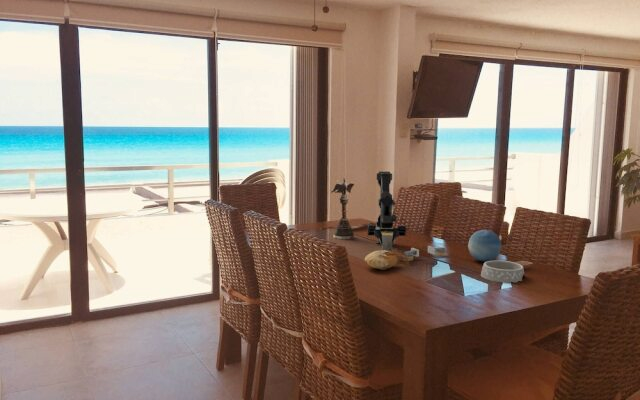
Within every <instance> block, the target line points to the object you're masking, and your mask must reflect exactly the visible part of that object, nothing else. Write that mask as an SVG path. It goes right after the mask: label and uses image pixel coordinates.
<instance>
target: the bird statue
mask: <svg viewBox="0 0 640 400" xmlns="http://www.w3.org/2000/svg"><path fill="white" fill-rule="evenodd" d="M354 186H355V182H350V183H348V182H347V178H346V177H343V183H340V182H339V180H338V179H337V180H336V184H335V185H334V188H333V189H331V190H330V194H332V193H335V194H337V193H338V194H341V196H340V198H339V202H340V204H341V211H340V212H341V215H342V216H341V218H340V219H339V220H340V221H339V222H338V225H337V226H336V228H335V232H334V234H333V238H334V239H335V238H337V239H336V240H351V239H354V238H355V234H354V232H353V229H352V227H351V225H350V222H349V218H347V204H348V203H349V197H348V195H347V192H348V193H349V194H351V191H352V188H353V187H354Z"/></svg>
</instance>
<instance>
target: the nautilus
mask: <svg viewBox="0 0 640 400" xmlns="http://www.w3.org/2000/svg"><path fill="white" fill-rule="evenodd" d="M403 255H404V253H399V252H397V254H395V252H394V251H392V252H391V251H386V250H382V249H381V250H376V251H375V250H374V251H372V252H370V253H368V254H367V255H366V256H365V258H364V261H365V263H366V264H367V265H369V266H370V267H371V268H373V269H378V270H380V271H384V270H387V269H389V268H392V267H401V268H402V266H404V263H407V265H408V264H409V262H408V261H406V260H403ZM399 257H402V258H399ZM404 257H405V256H404ZM406 257H407V256H406Z"/></svg>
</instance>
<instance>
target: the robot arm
mask: <svg viewBox="0 0 640 400" xmlns="http://www.w3.org/2000/svg"><path fill="white" fill-rule="evenodd" d="M375 178H376V181H377V185H378V186H379V189H380V191H379V193H380V195H379V199H378V202H377V203H378V205H377V206H378V207H379V210H380V212H379V213H380V214H379V215H378V217H377V221H375V224H368V225H367V236H374V237H375V238H377V240H378V241H376V242H375V244H377V245H381V246H382V231H392V232H393V235H392V247H393V246H394V244H395V241H396V239H397V238H399V237H405V236H406V235H407V226H406V225H404V224H403V225H402V224H400V225H399V224H397V225H398V226H397V227H394V223H396V222H397V214H393V209H394V207H395V206H396V201H395V199H394V198H393V194H391V192H390V185H391V181H392V180H393V173H391V172H390V171H383V170H382V171H378V173H376V177H375Z"/></svg>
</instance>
